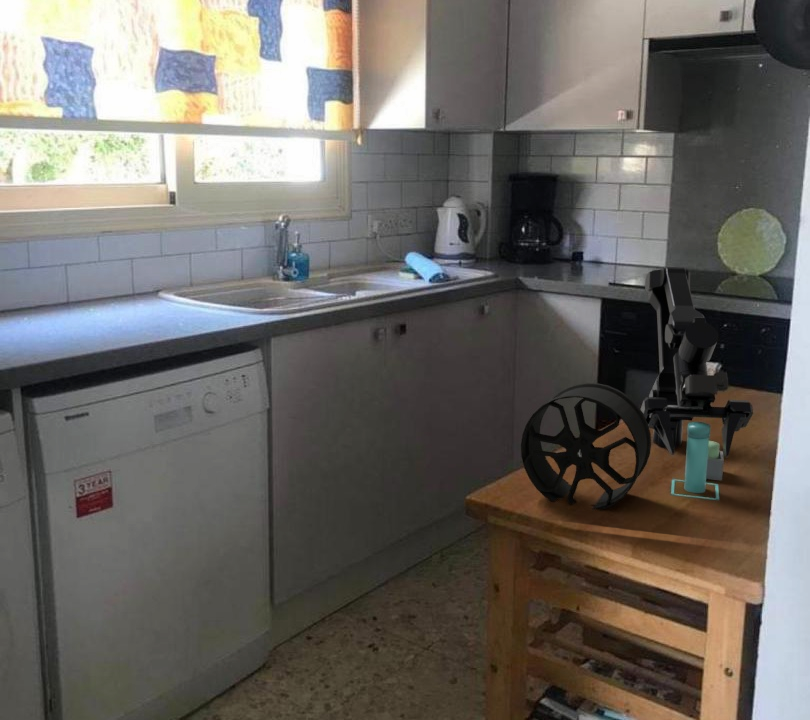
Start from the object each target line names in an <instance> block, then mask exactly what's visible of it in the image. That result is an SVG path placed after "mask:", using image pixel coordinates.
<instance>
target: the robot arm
mask: <svg viewBox="0 0 810 720" xmlns="http://www.w3.org/2000/svg"><path fill="white" fill-rule="evenodd" d="M644 282H645V283H644V288H645V291H646V292H647V294H648V297H647V299H648V303H649V304H650V305H651V306H652V308H653V309H654V310H655V311H656V316H657V317H656V318H657V319H656V320H657V321H656V322H657V342H658V362H659V374H658V376H657V377H656V379H655V381H654V384H653V386H652V389H651V390H650V392H649V395H648V396H646V397H645V398H644V399H643V401H642V404H641V407H640V410H641V411H642V412H643V414H644V416H645V419H646V421H647V423H648V426H649V429H652V431H653V432H652V436H651V439H652V443H653V444H654V445H657V446H658V448H661V449H662V448H664V449H667V450H668V452H669V454H670V456H674V455H675V448H676V447H680V446H682V441H683V426H684V421H690V422H693V419H694V418H706V419H707V418H709V419H711V418H712V419H721V422H722V425H723V426H722V428H721V438H722V449H723V450H722V451H723V456H724V458H728V457H729V455H730V450H731V448H732V442H733V438H734V435H735V432H740V430H741V429H744V428H746V427H747V426H748V425H749V424H748V423H749V422H750V420H751V418H752V416H753V415H754V409H753V404H752V403H751V402H750V401H749V400H745V399H728V400H727V402H726V404H725V406H712V403H713V404H714V403H715V401H716V395H718V394H719V393H718V392H721V393H722V392H726V391H727V390H728V389H729V379H728V373H727V371H726V372H723V371H716V372H715V373H714V374H713V375H712V374H711V375H710V374H708V366H707V363H708V362H709V361H710V360H711V359H712V355H713V353H714V350H715V348H716V345H717V343H718V341H719V338H720V337H719V332H718V331H717V329H716V328H715V327H714V326H713V325H711V324H710V323H708V322H707V321H706V317H705V316H704V314H703V313H701V312H700V311H698V310H697V309H695V305H694V304H695V303H694V301H693V296H692V292H691V271H689V269H688V268H685V267H684V266H665V267H661V268H660V269H652V270H651V271H649V272H648V273H647V274H646V275H645V280H644Z"/></svg>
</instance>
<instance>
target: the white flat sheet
mask: <svg viewBox="0 0 810 720" xmlns="http://www.w3.org/2000/svg"><path fill="white" fill-rule="evenodd" d="M676 482H684V483H685V479H684V480H683V479H675V478H672V479H671V489H670V491H671V492H670V495H671V496H680V497H687V498H696V499H704V500H714V501H720V494H719V492H720V491H719V484H718V483H711V482H706V485H712V486H714V488H715V498H714V497H707V496H706V497H704V496H697V495H688V494H681V493H680V494H679V493H675V483H676Z"/></svg>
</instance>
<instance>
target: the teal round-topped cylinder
mask: <svg viewBox="0 0 810 720" xmlns="http://www.w3.org/2000/svg"><path fill="white" fill-rule="evenodd" d="M686 428H687V431H686V435H687V438H686V439H687V440H686V451H685V453H686V455H685V469H684V480H685V482H684V483H683V484H684V486H683V489H684V490H685V491H686V492H688V493H691V494H703V493H705V492H706V490H707V489H706V485H707V484H706V483H707V479H706V474H707V460H708V446H709V441H710V436H711V424H709V423H707V422H701V421H690V422H688V423H687V427H686Z"/></svg>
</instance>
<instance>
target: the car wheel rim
mask: <svg viewBox="0 0 810 720" xmlns="http://www.w3.org/2000/svg"><path fill="white" fill-rule="evenodd" d="M570 398H578V399H580V400H579V401H578V402H577V403H576V404H575V405H574V406H573V408H574V409H573V410H574V413H575V419H576V422H577V426H578V432H579V436H578V437H576V436H575V435H574V433H573V431H572V430H571V427H570V423H569V420H568V418H567V415H566V411H565V406H564V405H563V404H560V403H558V402H556V401H558V400H564V399H570ZM585 402H590V403H592V404H593V403H594V404H598V405H599V406H601V407H603V408H605V409H606V410H608V411H609V412H611V413H612V414H613V415H614V417H615V421H614V422H613V423H612V424H610V425H608V426H606V427H605V428H603V429H599V430H598V429H596V428H595V427H594V428H593V427H591V426H590V425H589V424H587V423H586V420H585V415H584V411H583V406H582V404H583V403H585ZM550 406H551V407H552V408H553V407H554V408H557V409H558V411H559V414H560V417H561V420H562V424H563V428H562V429H561V431H560V432H558V433H557V434H555V435H547V434H543V433H541V425H542V421H543V418H544V415H545V414H546V412H547V410H548V408H549V407H550ZM640 409H641V407H639V406H638V405H637V403H636V402H635V401H634V400H633V399H632V398H631V397H630V396H628V395H626V393H624V392H622V391H621V390H619V389H618V388H615V387H612V386H610V385H608V384H601V383H597V382H596V383H595V382H585V383H577V384H574V385H572V386H569V387H566V388H565V389H563V390H562V391H560V392H559V393H557V394H556V395H555V396H553V397H552V398H551V399H550V400H549V401H547V402H545V403H544V404H542V405H541V406H540V407H539V408H538V409H537V410H536V411H535V412H534V413H532V415H531V417H530V418H529V420H528V421H527V423H526V425H525V427H524V429H523V432H522V435H521V443H520V454H521V456H520V457H521V460H522V464H523V468H524V471H525V473H526V475H527V477H528V479H529V481H530V482H531V483H532V484H533V486H534V487H535V489H536V490H537V491H538V492H539V493H540V494H541V495H542V496H543V497H544V498H545V499H547V500H549V501H550V502H552V503H556V502H557V501H558V499H564V498H565V497H566V500H567V502H568V504H569V506H573V504H576V503H577V501H576V499H575V494H576V491H577V488H578V485H579V482H580V481H583V480H590V479H591V480H593V481H595V482H596V484H597V485H598V486H599V487H601V488H602V489H603V490H604V492H603V493H602V495H601V496H600V497H599V498H598V500H597V501H596V503H595V504H590V506H591V507H592V508H591V509H592V510H596V511H603V510H605V509H608V508H610V507H612V506H614V505H615V504H617V503H618V502H620V501H622V499H623V498H624V497H625V496H626V495H627V494H628V493H629V491H631V489H632V487H633V486H634V484H635V483H636V481H637V479H638V478H639V476H640V475H641V473H642V472H643V471H644V469H645V468H646V466H647V463H648V460H649V458H650V455H651V448H652V436H651V430H650V428H649V426H648V423H647V421H646V419H645V416H644V414H643V412H642V411H641V410H640ZM620 420H622V421H623V423H624V424H625V425H626V427H627V428H628V431H629V433H630V434H631V436H632V439H630V438H629V437H627V436H625V437H623V438H620V439H618V440H616V441H614V442H612V443H610V444H608V445H606V446H604V447H602V446H595V445H594V443H595V442H596V440H598V439H599V438H601V437H603V436H605V435H606V434H608V433H609V432H612V431H613V430H615V429H617V428H618V427H619V426H620V422H621V421H620ZM542 443H548V444H552V445H558V446H560V447H562V448H563V449H565V451H560V452H556V451H555V452H554V451H547V450H546V451H545V450H543V448H542V446H543V445H542ZM624 444H627V445H629V446H630V447H631V448H632V449H633V450H634V453H635V465H634V466H635V467H634V473H633V475H632V476H629V477H627V478H626V477H624V476H622V475H621V474H620V473H619V472H618V471H616V469H614V468H613V467H612V466H611V465H610V454H611V450H614V449H615V448H617V447H620V446H621V445H624ZM547 457H550V458H551V459H553V460H554V462H555V464H556V465H557V467H558V469H559V473H558V472H557V471H556V470H555V469H554V468H553V467H552V466H551V464H550V462H549V461H548V460H547ZM592 463H593V464H595V465H596V466H597V467H599V468H600V469H601V470H602V472H604V473H606V474H607V475H608V476H609V477H611V479H612V480H614V481H615V482H616V483H617V484H618V485H622V486H620V487H618V488H614V489H613V488H611V487H612V486H609V484H607V483H606V481H605V480H603V479H602V478H601V477H600V475H598V474H597V473H596V472H595V470H594V468H593V464H592ZM571 466H575V473H574V478H573V480H572V484H570V483H569V482H568V481H567V480H566V479H564V476H565V473H566V471H567V469H568V468H570V467H571Z"/></svg>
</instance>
